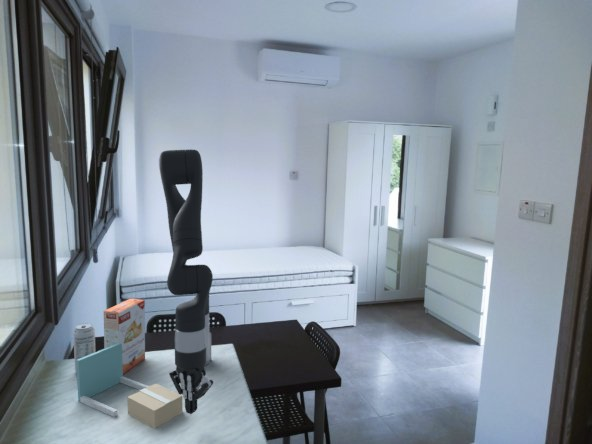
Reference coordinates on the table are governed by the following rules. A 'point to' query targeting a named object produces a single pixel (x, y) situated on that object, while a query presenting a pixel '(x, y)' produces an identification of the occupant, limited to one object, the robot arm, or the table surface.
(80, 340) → the energy drink can
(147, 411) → the kraft carton
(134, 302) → the cracker box
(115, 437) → the table surface
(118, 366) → the display stand
